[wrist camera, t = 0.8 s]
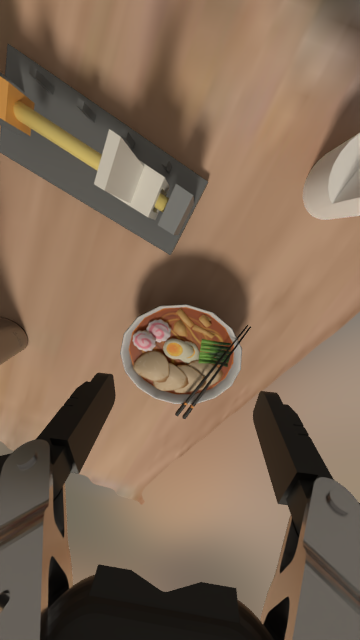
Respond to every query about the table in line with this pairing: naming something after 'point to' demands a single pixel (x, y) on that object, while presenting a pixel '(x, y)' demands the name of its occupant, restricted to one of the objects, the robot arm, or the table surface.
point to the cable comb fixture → (86, 150)
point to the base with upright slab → (335, 183)
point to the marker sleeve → (129, 177)
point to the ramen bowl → (181, 355)
